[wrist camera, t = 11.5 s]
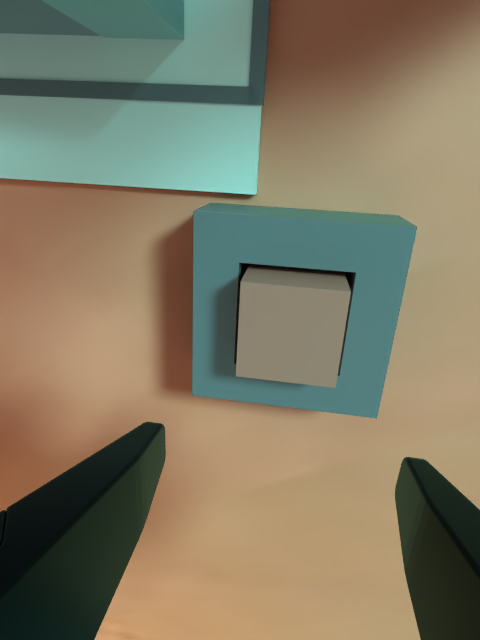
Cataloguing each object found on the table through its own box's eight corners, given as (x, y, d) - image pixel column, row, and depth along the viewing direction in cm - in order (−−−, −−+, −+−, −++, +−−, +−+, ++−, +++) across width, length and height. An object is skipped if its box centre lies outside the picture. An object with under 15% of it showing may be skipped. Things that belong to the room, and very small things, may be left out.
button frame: (398, 215, 17) (417, 227, 14) (366, 382, 20) (376, 418, 17) (210, 202, 18) (193, 211, 15) (207, 363, 21) (192, 395, 18)
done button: (343, 269, 17) (351, 291, 14) (331, 352, 18) (335, 387, 15) (250, 261, 17) (240, 281, 14) (245, 343, 19) (235, 376, 16)
